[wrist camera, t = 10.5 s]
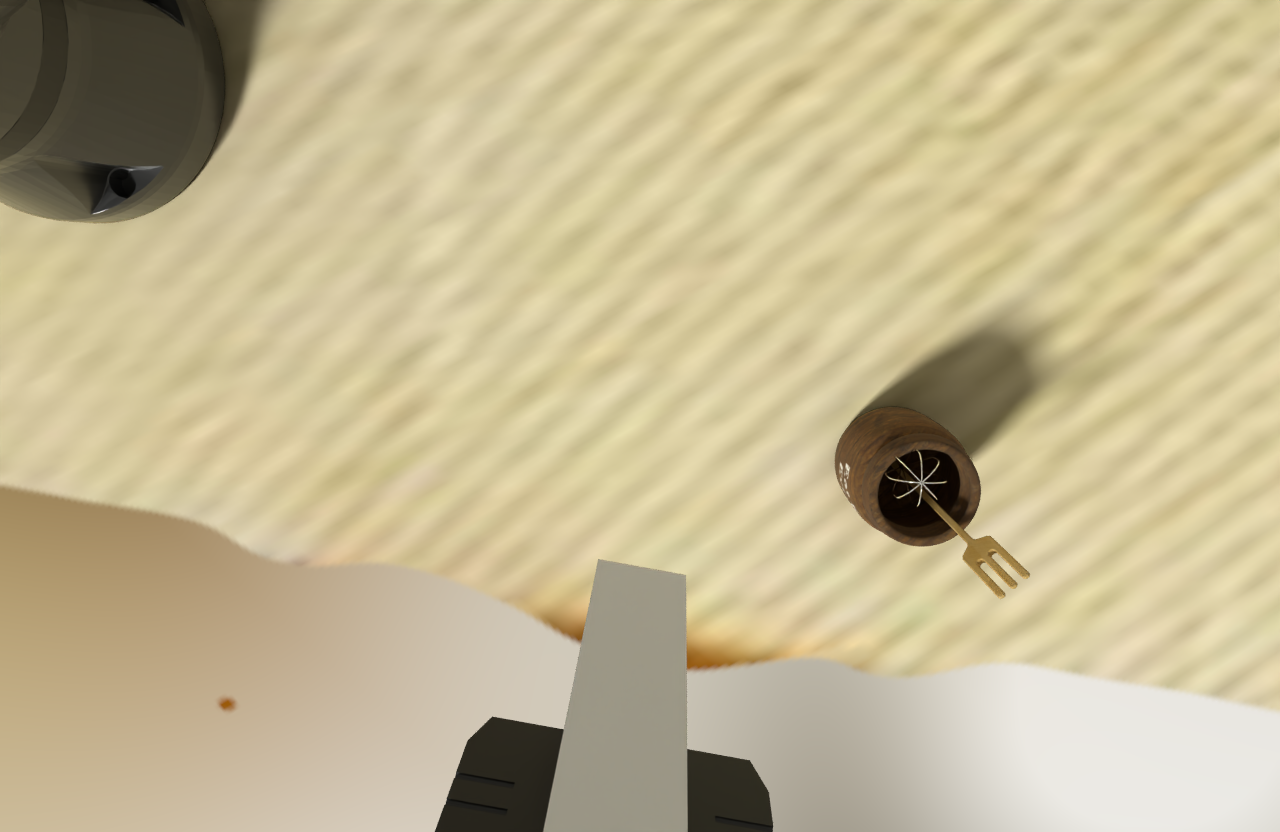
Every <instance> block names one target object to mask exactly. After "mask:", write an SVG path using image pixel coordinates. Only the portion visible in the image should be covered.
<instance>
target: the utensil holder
mask: <svg viewBox="0 0 1280 832" xmlns="http://www.w3.org/2000/svg"><path fill="white" fill-rule="evenodd" d="M835 470H836V475H837V479H838V482H839V484H840V486H841V489H842V490H843V492H844V494H845V495H846V497H847V499H848V500H849V501H850V503H851V504H852V506H853V507H854V509H855V510H856V511H857V512H858V514H859V515H860V516H861V517H862V518H863V519H864V520H865V521H866V522H867V523H868V524H870V525H871V526H872V527H874V528H875V529H877V530H879V531H881V532H883V533H884V534H886V535H887V536H889V537H890V538H892V539H894V540H896V541H898V542H901V543H904V544H907V545H912V546H933V545H937V544H940V543H943V542H946V541H948V540H950V539H952V538H954V537H955V536H957V535H959V536H960V537H961V538H962V539H963V540H964V541H965V542H966V543H967V545H968V547H967V549H966V551H965V553H964V555H963V560H964V561H965V562H966V564H967V565H968V566H969V567H970V568H971V569H972V570H973V571H974V572H975V573H976V574H977V575H978V576H979V577H980V579H981V580H982V581H983V582H984V583H985V584H986V585H987V586H988V587H989V588H990V589H991V590H992V591H993V592H994V593H995V595H996V596H997V597H998V598H1000V599H1002V598H1004V597H1005V593H1004V592H1003V591H1002V590H1001V589H1000V587H999V586H998V585H997V584H996V583H995V582H994V581H993V580H992V579H991V578H990V577H989V576H988V575H987V574H986V573H985V572H984V571H983V570H982V569H981V568H980V565H981V564H982V563H987V564H988V565H989V566H990V567H991V568H992V569H993V570H994V571H995V572H996V573H997V574H998V575H999V576H1000V577H1001V579H1002V580H1003V581H1004V582H1005V583H1006V584H1007V585H1008V586H1009V587H1010V588H1011V589H1015V588H1016V587H1017V583H1016V582H1015V581H1014V580H1013V579H1012V578H1011V577H1010V576H1009V575H1008V574H1007V573H1006V572H1005V571H1004V570H1003V569H1002V568H1001V567H1000V566H999V565H998V564H997V563H996V562H995V561H994V560H993V559H992V555H993V554H994V553H998V554H999V555H1000V556H1001V557H1002V558H1003V559H1004V560H1005V561H1006V562H1007V563H1008V564H1009V565H1010V566H1011V567H1012V568H1013V569H1014V570H1015V571H1016V572H1017V573H1018V574H1019V575H1020V576H1021V577H1022V578H1024V579H1027V578H1028V577H1029V576H1030V573H1029V572H1028V571H1027V570H1026V569H1024V568H1023V567H1022V566H1021V565H1020V564H1019V563H1018V562H1017V561H1016V560H1015V559H1014V558H1013V557H1012V556H1011V555H1010V554H1009V553H1008V552H1007V551H1006V550H1005V549H1004V548H1003V547H1001V546H1000V545H999V544H998V543H997V542H996V541H995V540H994V539H993V538H992V537H991V536H985V537H982V538H979V539H972V538H971V537H970V536H969V535H968V534H967V533H966V532H965V531H964V529H965V528H966V527H967V526H968V524H969V523H970V522H971V520H972V519H973V517H974V515H975V513H976V511H977V509H978V506H979V502H980V495H981V486H980V480H979V476H978V473H977V471H976V468H975V466H974V465H973V463H972V461H971V459H970V458H969V456H968V455H967V454H966V452H965V450H964V448H963V447H962V445H961V444H960V442H959V441H958V440H957V439H956V438H955V437H954V436H953V435H952V434H951V433H950V432H949V431H948V430H946V429H945V428H944V427H942V426H941V425H939V424H938V423H936V422H935V421H933V420H931V419H930V418H928V417H927V416H925V415H923V414H921V413H919V412H916V411H914V410H911V409H907V408H901V407H884V408H879V409H875V410H872V411H869V412H867V413H865V414H863V415H862V416H860V417H859V418H857V419H856V420H855V421H853V422H852V423H851V424H850V425H849V426H848V428H847V429H846V430H845V431H844V433H843V435H842V436H841V438H840V440H839V443H838V446H837V449H836V454H835Z"/></svg>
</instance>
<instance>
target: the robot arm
mask: <svg viewBox="0 0 1280 832" xmlns="http://www.w3.org/2000/svg"><path fill="white" fill-rule="evenodd" d="M224 93H225V78H224V66H223V59H222V53H221V49H220V44H219V40H218V37H217V34H216V30H215V28H214V25H213V22H212V20H211V17H210V15H209V13H208V10H207V8H206V6H205V4H204V3H203V1H202V0H0V202H1V203H3V204H5V205H7V206H9V207H12V208H14V209H17V210H19V211H22V212H25V213H28V214H31V215H35V216H39V217H43V218H47V219H53V220H59V221H72V222H85V223H113V222H120V221H125V220H130V219H134V218H137V217H140V216H143V215H145V214H147V213H150V212H152V211H154V210H156V209H158V208H160V207H161V206H163V205H164V204H166V203H168V202H169V201H170V200H172V199H173V198H174V197H176V196H177V195H178V194H179V193H180V192H181V191H182V190H184V189H185V188H186V187H187V185H188V184H189V183H190V182H191V181H192V180H193V179H194V177H195V176H196V175H197V173H198V172H199V171H200V169H201V168H202V166H203V165H204V163H205V161H206V159H207V157H208V156H209V154H210V152H211V149H212V147H213V145H214V142H215V139H216V137H217V134H218V130H219V127H220V123H221V118H222V113H223V106H224ZM435 832H773V821H772V814H771V807H770V798H769V792H768V790H767V788H766V787H765V785H764V784H763V782H762V780H761V779H760V777H759V775H758V773H757V772H756V770H755V769H754V767H753V765H752V764H751V762H750V760H744V759H739V758H733V757H727V756H722V755H717V754H711V753H706V752H700V751H694V750H689V749H687V659H686V575H683V574H677V573H672V572H666V571H661V570H655V569H650V568H644V567H639V566H633V565H628V564H622V563H617V562H611V561H606V560H600V559H598V564H597V569H596V574H595V578H594V583H593V588H592V593H591V598H590V603H589V608H588V613H587V618H586V623H585V628H584V633H583V638H582V643H581V648H580V652H579V657H578V663H577V667H576V672H575V677H574V682H573V687H572V692H571V697H570V702H569V707H568V712H567V717H566V722H565V727H564V729H558V728H552V727H547V726H541V725H536V724H530V723H524V722H519V721H514V720H508V719H502V718H497V717H492V718H491V719H489V720H488V721H487V722H486V723H485V724H484V725H483V726H482V727H481V728H480V729H479V730H478V731H477V732H476V733H475V734H474V735H473V736H472V737H471V738H470V739H469V740H468V741H467V744H466V747H465V749H464V752H463V755H462V758H461V760H460V764H459V766H458V769H457V772H456V776H455V778H454V780H453V783H452V786H451V789H450V791H449V794H448V797H447V801H446V804H445V805H444V808H443V811H442V813H441V816H440V819H439V822H438V824H437V827H436V830H435Z"/></svg>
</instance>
